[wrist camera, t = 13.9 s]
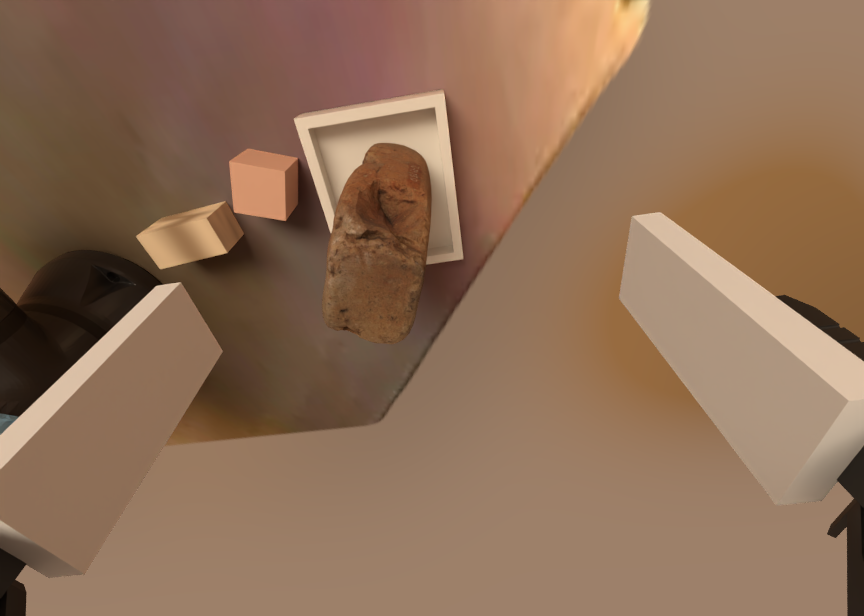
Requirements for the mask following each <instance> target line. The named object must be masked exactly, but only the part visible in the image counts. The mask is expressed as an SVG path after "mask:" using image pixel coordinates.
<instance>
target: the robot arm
mask: <svg viewBox="0 0 864 616" xmlns="http://www.w3.org/2000/svg"><path fill="white" fill-rule="evenodd" d="M619 299H620V300H621V302H622V303H623V304H624V306H625V307H626V308H627V309H628V311H629V312H630V313H631V315H632V316H633V317H634V319H635V320H636V321H637V323H638V324H639V325H640V327H641V328H642V329H643V331H644V332H645V333H646V335H647V336H648V337H649V338H650V340H651V341H652V342H653V344H654V345H655V346H656V348H657V349H658V350H659V352H660V353H661V354H662V356H663V357H664V358H665V360H666V361H667V362H668V363H669V365H670V366H671V367H672V369H673V370H674V371H675V373H676V374H677V375H678V377H679V378H680V379H681V380H682V382H683V383H684V385H685V386H686V387H687V388H688V390H689V391H690V392H691V394H692V395H693V396H694V398H695V399H696V400H697V402H698V403H699V404H700V405H701V407H702V408H703V409H704V411H705V412H706V413H707V415H708V416H709V417H710V419H711V420H712V421H713V423H714V424H715V425H716V427H717V428H718V429H719V431H720V432H721V433H722V434H723V436H724V437H725V438H726V440H727V441H728V442H729V444H730V445H731V446H732V448H733V449H734V450H735V452H736V453H737V454H738V456H739V457H740V458H741V460H742V461H743V462H744V463H745V465H746V466H747V467H748V469H749V470H750V471H751V473H752V474H753V475H754V477H755V478H756V479H757V480H758V482H759V483H760V484H761V486H762V487H763V488H764V490H765V491H766V492H767V494H768V495H769V496H770V498H771V499H772V500H773V502H774V503H775V504H776V505H786V504H796V503H806V502H816V501H822V500H823V499H824V498H825V496H826V495H827V494H828V493H829V491H830V490H831V489H832V488H833V486H834V485H835V484H836V483H837V482H839V483H840V484H841V485H842V486H843V487H844V488H845V489H846V490H847V491H848V492H849V493H850V494H851V495H852V497H853V498H854V499H853V500H852V502H851V503H850V504H849V505H848V506H847V507H846V508H845V509H844V511H843V512H842V513H841V514H840V515H839V516H838V517H837V518H836V520H835V521H834V522H833V523H832V524H831V526H830V528H829V531H828V533H827V534H828V535H830V536H832V537H835V538H836V537H837V536H838V535H839V534H840V533H841V532H842V531H843V530H844V528H846V527H847V594H848V595H847V596H848V597H847V602H848V603H847V604H848V616H864V342H860V340H859V339H860V338H859V337H857V336H856V335H854V334H853V333H852V332H850V331H849V330H847V329H846V328H840V327H839V324H838V323H837V322H836V321H834V320H833V319H831V318H829V317H828V316H827V315H825V314H824V313H822V312H821V311H820V310H818V309H817V308H815V307H813V306H810V305H808V304H805V303H803V302H800V301H798V300H796V299H793V298H791V297H789V296H786V295H782V296H774V295H772V294H771V293H770V292H768V291H767V290H766V289H764V288H763V287H762V286H760V285H759V284H757V283H756V282H755V281H753V280H752V279H751V278H749V277H748V276H747V275H745V274H744V273H742V272H741V271H740V270H738V269H737V268H736V267H734V266H733V265H732V264H730V263H729V262H727V261H726V260H725V259H723V258H722V257H721V256H719V255H718V254H717V253H715V252H714V251H712V250H711V249H710V248H708V247H707V246H706V245H704V244H703V243H702V242H700V241H699V240H697V239H696V238H695V237H693V236H692V235H691V234H689V233H688V232H687V231H685V230H684V229H682V228H681V227H680V226H678V225H677V224H676V223H674V222H673V221H672V220H670V219H669V218H667V217H666V216H665V215H663V214H662V213H661V212H658V213H651V214H644V215H638V216H632V218H631V225H630V231H629V237H628V244H627V251H626V257H625V263H624V270H623V276H622V283H621V289H620V295H619ZM222 352H223V351H222V349H221V347H220V346H219V344H218V343H217V341H216V339H215V338H214V336H213V334H212V333H211V331H210V329H209V328H208V326H207V324H206V323H205V321H204V319H203V318H202V316H201V315H200V313H199V311H198V310H197V308H196V306H195V305H194V303H193V301H192V300H191V298H190V296H189V295H188V293H187V291H186V290H185V288H184V287H183V285H182V283H181V282H179V283H172V284H166V285H161V284H160V283H159V282H158V281H157V280H156V279H155V278H154V277H153V276H152V275H150V274H149V273H148V272H146V271H145V270H144V269H142V268H140V267H139V266H137V265H135V264H134V263H132V262H130V261H128V260H125V259H123V258H121V257H118V256H115V255H112V254H108V253H104V252H99V251H91V250H79V251H72V252H68V253H65V254H62V255H61V256H59V257H57V258H55V259H54V260H52V261H51V262H49V263H47V264H46V265H44V266H43V267H42V268H41V269H40V270H39V271H38V272H37V273H36V275H35V276H34V278H33V279H32V281H31V282H30V284H29V285H28V287H27V288H26V290H25V292H24V293H23V295H22V296H21V298H20V299H19V301H18V303H17V304H15V302H14V301H13V300H12V299H11V298H10V297H9V296H8V295H7V294H6V293H5V292H4V291H3V290H2V289H1V288H0V616H26V590H25V587H24V584H22V583H20V582H18V581H16V580H15V579H16V578H17V576H18V575H19V573H20V572H21V570H22V569H23V568H24V566H25V565H28V566H29V567H31V568H33V569H34V570H36V571H38V572H40V573H41V574H43V575H45V576H46V577H48V578H52V577H61V576H71V575H82V574H85V573H86V571H87V570H88V568H89V566H90V565H91V563H92V562H93V560H94V558H95V557H96V555H97V554H98V552H99V550H100V549H101V547H102V545H103V544H104V542H105V541H106V539H107V537H108V536H109V534H110V532H111V531H112V529H113V528H114V526H115V524H116V523H117V521H118V520H119V518H120V516H121V515H122V513H123V511H124V510H125V508H126V507H127V505H128V504H129V502H130V500H131V499H132V497H133V495H134V494H135V492H136V491H137V489H138V487H139V486H140V484H141V483H142V481H143V479H144V478H145V476H146V474H147V473H148V471H149V470H150V468H151V466H152V465H153V463H154V462H155V460H156V458H157V457H158V455H159V453H160V452H161V450H162V449H163V447H164V445H165V444H166V442H167V441H168V439H169V437H170V436H171V434H172V433H173V431H174V429H175V428H176V426H177V424H178V423H179V421H180V420H181V418H182V416H183V415H184V413H185V412H186V410H187V408H188V407H189V405H190V404H191V402H192V400H193V399H194V397H195V395H196V394H197V392H198V391H199V389H200V387H201V386H202V384H203V383H204V381H205V379H206V378H207V376H208V375H209V373H210V371H211V370H212V368H213V366H214V365H215V363H216V362H217V360H218V358H219V357H220V355H221V354H222Z"/></svg>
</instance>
